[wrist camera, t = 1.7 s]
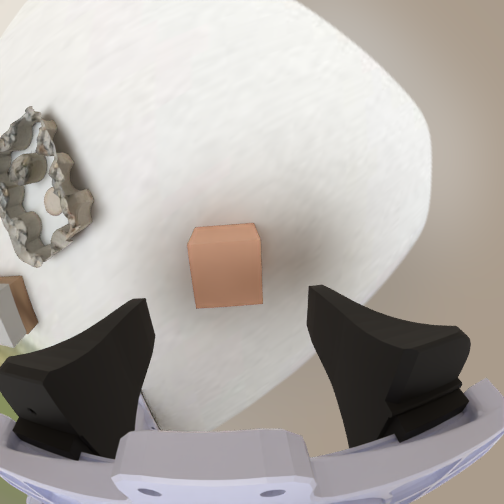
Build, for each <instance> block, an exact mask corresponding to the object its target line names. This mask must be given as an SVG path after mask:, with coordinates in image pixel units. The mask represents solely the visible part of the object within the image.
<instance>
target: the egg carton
mask: <svg viewBox="0 0 504 504" xmlns="http://www.w3.org/2000/svg"><path fill="white" fill-rule="evenodd" d="M25 112H26V113H25V114H24V115H23V116H22V117H21V118H20V119H18V120H17V121H15V122H13V123H12V124H11V125H10V128H9V130H8V131H7V132H5V133H4V134H3V135H2V136H1V138H0V217H1V219H2V222H3V224H4V227H5V228H6V230H7V231H8V233H9V236H10V238H11V241H12V244H13V247H14V250H15V253H16V254H17V256H18V257H19V259H21V260H22V261H23V262H25V263H27V264H29V265H31V266H33V267H36V268H38V267H40V266H41V265H42V264H43V262H45V261H47V260H48V259H50V258H51V257H52V256H53V255H54V254H56V253H57V252H59V251H60V250H63V249H64V248H65V247H67V246H68V245H70V244H71V243H72V242H73V241H72V240H71V239H70V238H71V237H73V236H74V235H75V234H76V233H78V232H79V231H81V230H83V229H84V228H86V227H87V226H88V225H90V224H91V223H92V219H91V214H90V209H91V205H92V204H93V202H94V199H93V196H92V194H91V193H90V191H89V190H88V189H84V190H80V191H79V190H77V189H76V188H74V187H73V185H72V184H71V181H70V170H71V168H72V166H73V164H74V161H73V160H72V159H71V158H70V156H69V155H68V154H65V153H63V152H62V153H56V149H55V145H54V143H53V137H54V134H55V133H56V131H57V126H56V124H55V122H54V121H53V120H50V121H45V120H44V119H41V113H40V112H36V111H34V109H33V108H32V106H30V107H28V108H27V109H26V110H25ZM36 122H41V125H42V127H40V128H39V135H38V137H37V148H36V153H30V154H22V155H20V156H19V157H17V158H16V159H15V160H14V161H13V162H12V166H11V170H10V174H9V175H8V171H9V169H10V165H11V152H12V151H19V150H24V149H26V148H27V147H28V146H29V145H30V143H31V140H32V137H33V129H32V126H33V125H34V124H35V123H36ZM31 152H32V151H31ZM44 155H45V156H54V157H55V158H54V161H53V163H52V164H51V167H50V170H49V175H50V176H51V177H52V185H53V187H51V188H50V189H48V191H47V192H46V194H45V197H44V204H45V208H46V211H47V212H48V213H49V214H51V215H53V216H57V215H59V214H61V213H62V212H63V213H64V215H65V216H66V217H67V218H68V221H69V224H67V225H65V226H63V227H62V228H59V229H57V230H56V231H55V232H54V233H53V235H52V238H51V245H46V246H44V245H43V243H42V241H41V240H40V237H39V236H40V234H41V231H42V224H41V220H40V217H39V216H38V215H37V214H36V213H35V212H32V211H30V212H27V213H26V212H25V210H24V208H23V206H22V201H23V199H24V193H25V191H24V186H23V185H26V184H31V183H35V182H39V181H41V180H42V179H43V178H44V176H45V174H46V171H47V161H46V158H45V157H44Z"/></svg>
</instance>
